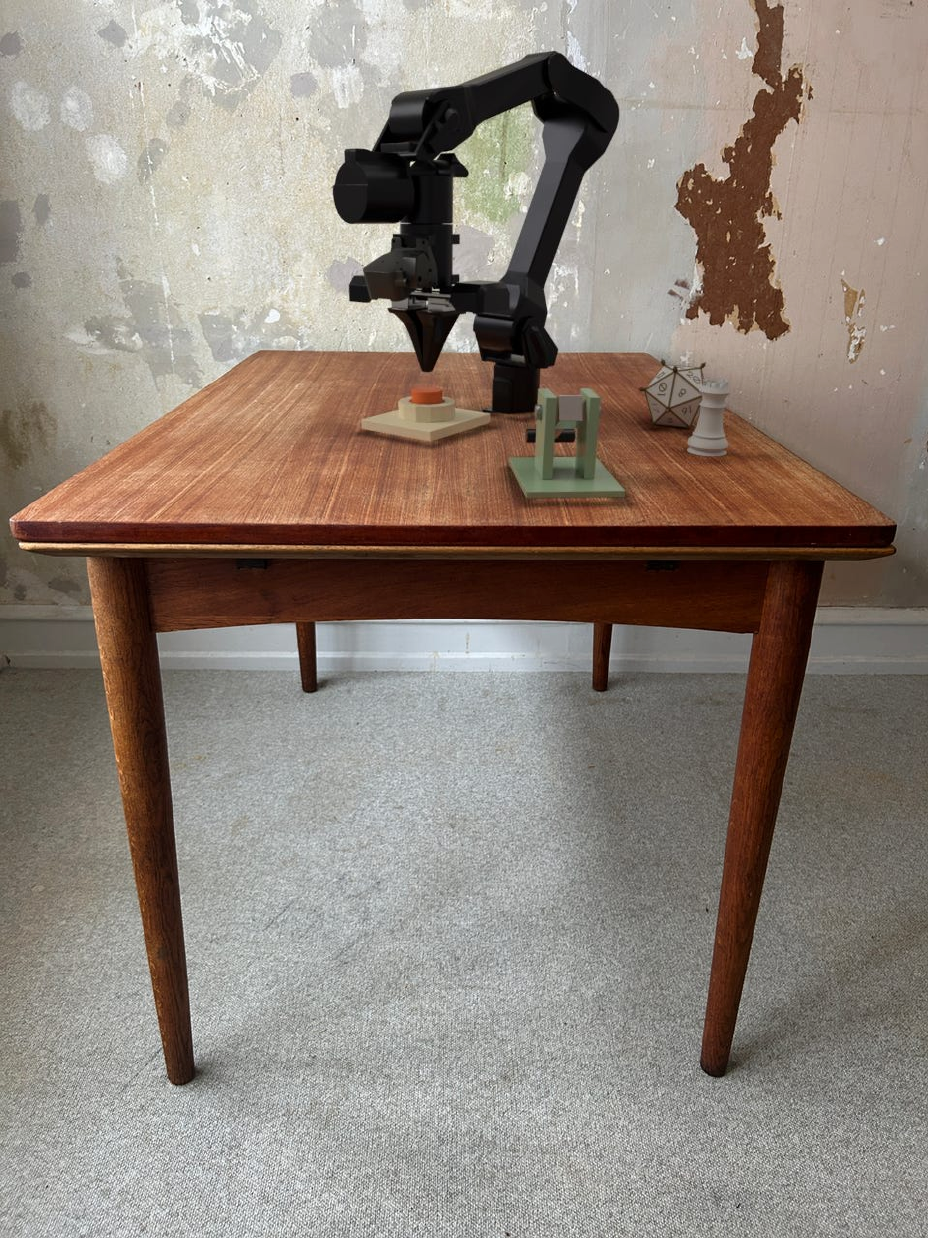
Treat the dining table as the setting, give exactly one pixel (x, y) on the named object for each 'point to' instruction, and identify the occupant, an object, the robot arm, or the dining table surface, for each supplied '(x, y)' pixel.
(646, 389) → the game die
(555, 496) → the green lever stand
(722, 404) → the rook chess piece
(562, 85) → the robot arm
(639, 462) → the dining table surface
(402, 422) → the button block
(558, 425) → the lever
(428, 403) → the button
